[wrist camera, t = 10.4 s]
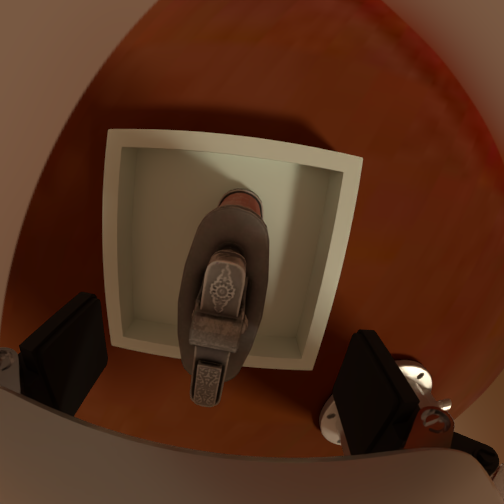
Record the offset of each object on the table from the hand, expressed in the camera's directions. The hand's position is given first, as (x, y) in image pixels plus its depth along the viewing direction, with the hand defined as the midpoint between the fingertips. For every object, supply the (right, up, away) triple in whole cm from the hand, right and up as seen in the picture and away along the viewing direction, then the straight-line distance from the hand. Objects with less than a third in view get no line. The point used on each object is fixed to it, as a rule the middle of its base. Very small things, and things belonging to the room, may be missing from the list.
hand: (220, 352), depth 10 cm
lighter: (0, +4, +9) cm, 9 cm away
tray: (-1, +4, +10) cm, 10 cm away
